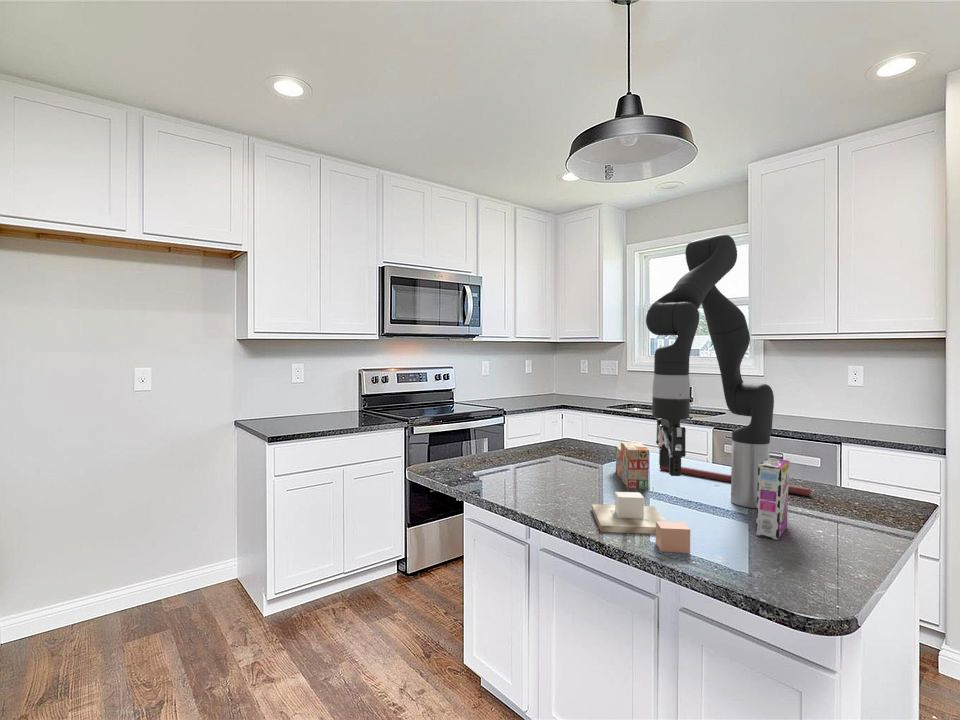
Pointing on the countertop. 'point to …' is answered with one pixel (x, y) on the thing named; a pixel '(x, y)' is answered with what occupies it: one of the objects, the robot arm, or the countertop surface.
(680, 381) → the robot arm
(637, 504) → the cream brick
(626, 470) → the stack of blocks
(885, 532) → the countertop surface
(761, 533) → the candy bar box
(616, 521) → the ash board
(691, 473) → the rolling pin
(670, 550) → the terracotta brick
